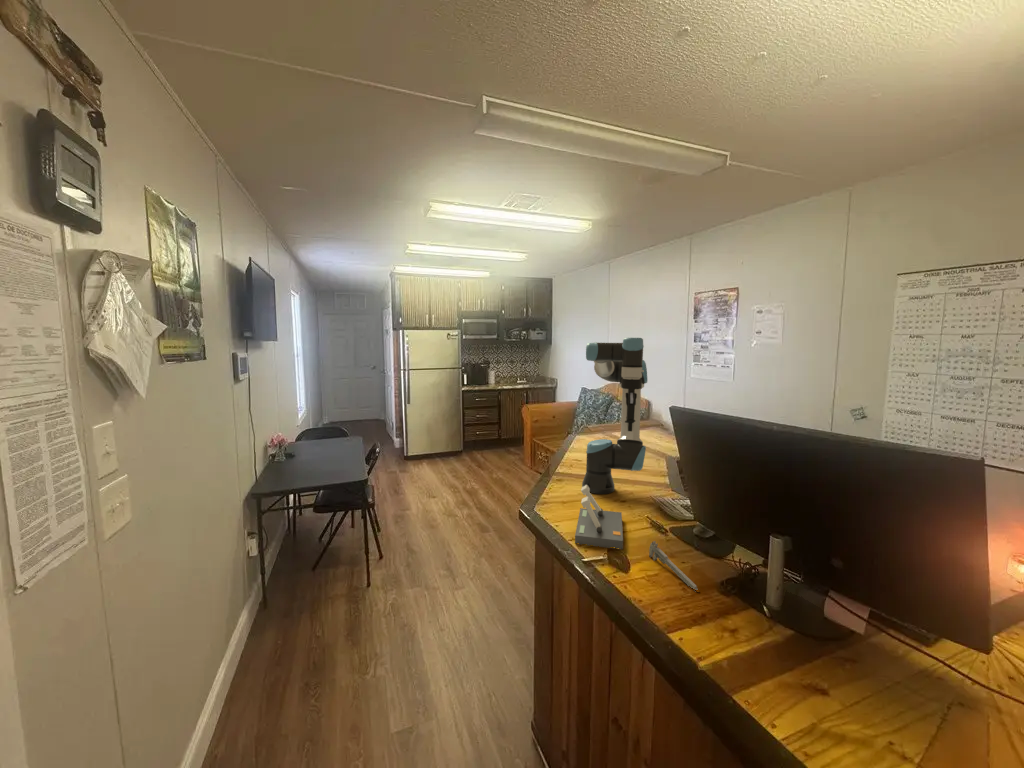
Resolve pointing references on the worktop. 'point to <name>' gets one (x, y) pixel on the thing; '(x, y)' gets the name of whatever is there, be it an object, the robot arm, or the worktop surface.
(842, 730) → the worktop surface
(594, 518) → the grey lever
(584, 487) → the lever
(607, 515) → the panel
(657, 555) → the caliper
